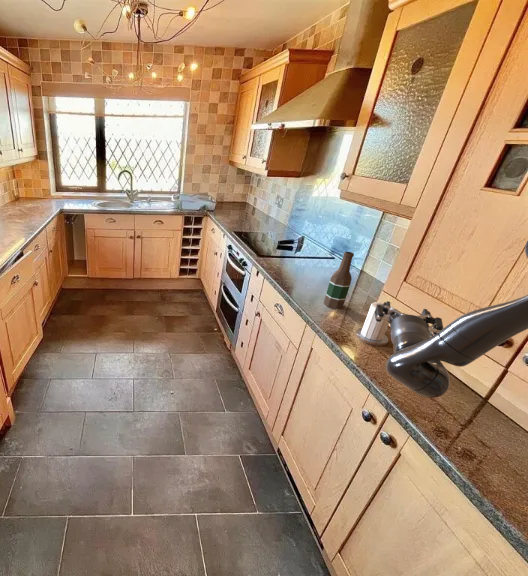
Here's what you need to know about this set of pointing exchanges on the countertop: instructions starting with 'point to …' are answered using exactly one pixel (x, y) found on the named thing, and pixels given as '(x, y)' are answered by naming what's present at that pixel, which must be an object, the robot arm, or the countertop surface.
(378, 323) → the paper roll
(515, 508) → the countertop surface
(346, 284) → the beer bottle
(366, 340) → the towel stand
